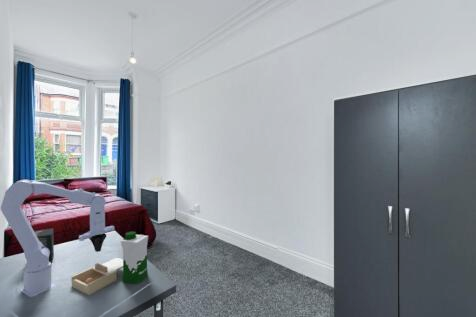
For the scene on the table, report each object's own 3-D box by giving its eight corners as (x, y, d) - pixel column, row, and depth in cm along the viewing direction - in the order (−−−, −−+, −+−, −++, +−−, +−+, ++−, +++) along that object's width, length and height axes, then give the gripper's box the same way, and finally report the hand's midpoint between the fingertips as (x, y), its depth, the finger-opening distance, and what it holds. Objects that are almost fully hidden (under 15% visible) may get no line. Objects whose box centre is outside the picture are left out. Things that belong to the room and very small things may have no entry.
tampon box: (30, 260, 110) (29, 231, 109) (54, 254, 115) (53, 227, 115) (26, 269, 101) (25, 238, 100) (52, 263, 106) (51, 233, 106)
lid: (93, 269, 93) (92, 263, 93) (116, 258, 102) (116, 253, 102) (106, 275, 88) (106, 269, 88) (130, 263, 98) (130, 257, 98)
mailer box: (71, 287, 87) (71, 276, 87) (99, 274, 96) (99, 264, 96) (88, 296, 81) (88, 284, 81) (116, 281, 91) (116, 270, 91)
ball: (83, 286, 86) (83, 279, 86) (91, 282, 89) (91, 275, 89) (87, 288, 85) (87, 281, 85) (95, 284, 88) (95, 277, 88)
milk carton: (133, 272, 97) (132, 229, 97) (151, 275, 96) (150, 230, 95) (118, 284, 89) (118, 236, 88) (138, 287, 87) (137, 238, 87)
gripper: (85, 227, 89) (85, 259, 89) (118, 218, 102) (118, 246, 102) (75, 224, 92) (76, 256, 92) (109, 216, 105) (109, 243, 105)
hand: (97, 250), depth 98 cm, fingers closed
